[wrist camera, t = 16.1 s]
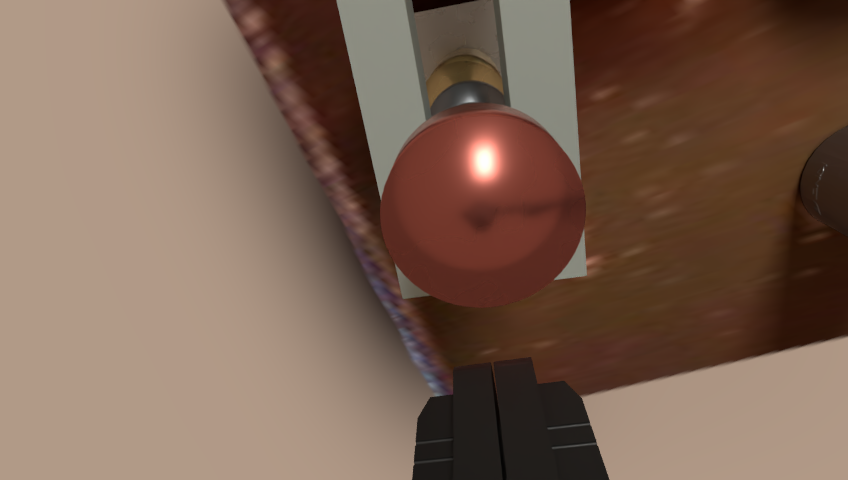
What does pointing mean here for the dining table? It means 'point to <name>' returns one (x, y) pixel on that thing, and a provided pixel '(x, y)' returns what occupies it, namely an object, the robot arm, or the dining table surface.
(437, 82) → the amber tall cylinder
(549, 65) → the press frame
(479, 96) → the ram
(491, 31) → the plate
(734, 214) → the dining table surface
